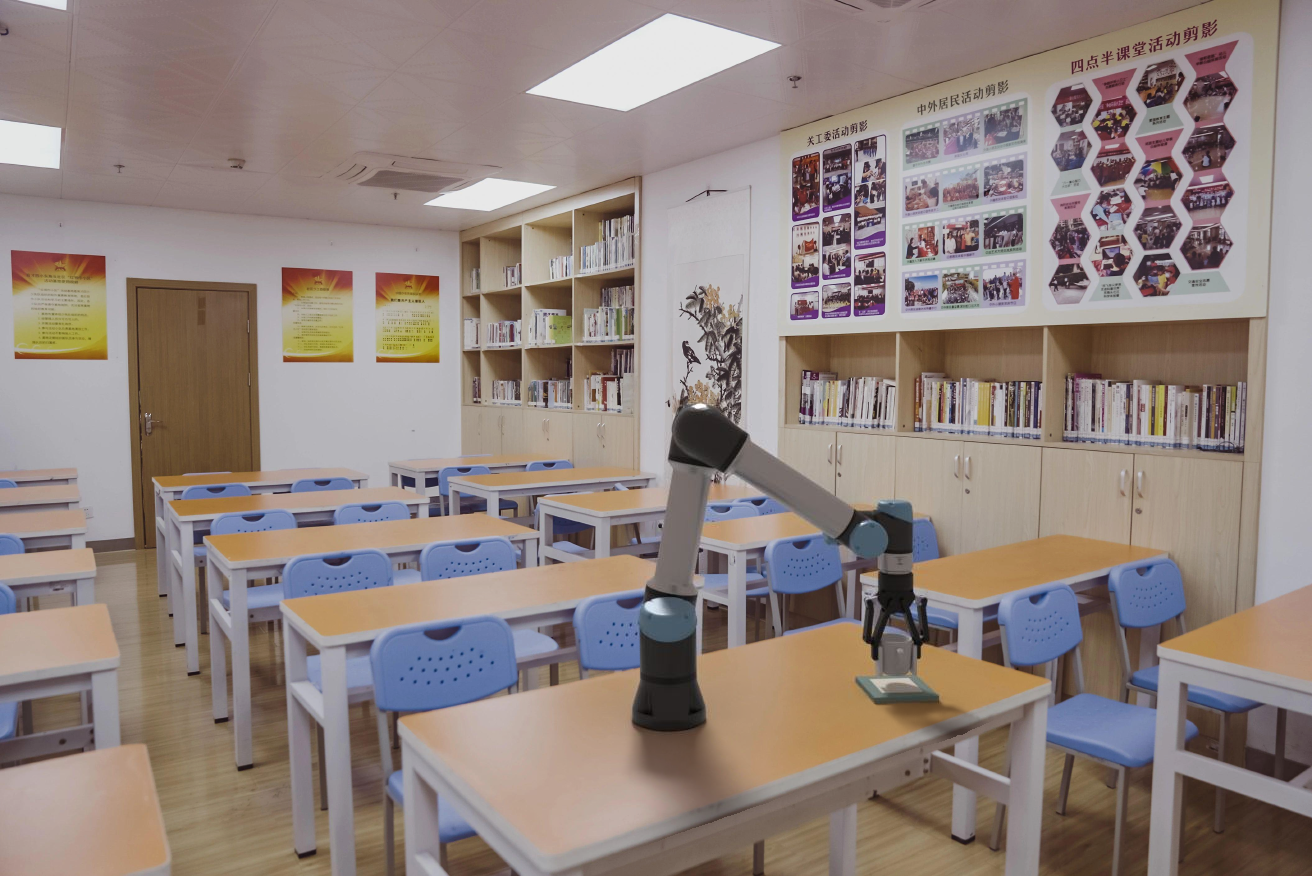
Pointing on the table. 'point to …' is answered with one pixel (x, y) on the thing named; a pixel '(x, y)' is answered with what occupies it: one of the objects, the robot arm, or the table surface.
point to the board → (896, 689)
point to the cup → (896, 653)
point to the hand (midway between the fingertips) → (896, 673)
